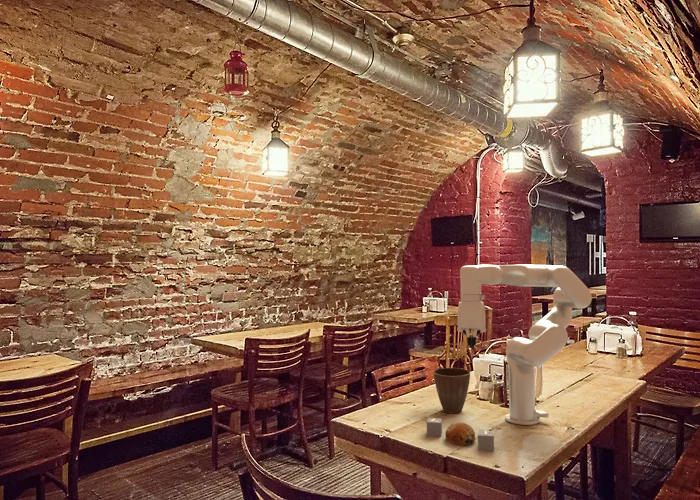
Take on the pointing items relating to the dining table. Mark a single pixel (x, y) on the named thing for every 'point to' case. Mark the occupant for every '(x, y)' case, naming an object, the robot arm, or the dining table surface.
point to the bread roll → (460, 434)
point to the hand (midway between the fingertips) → (471, 347)
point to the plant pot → (452, 388)
